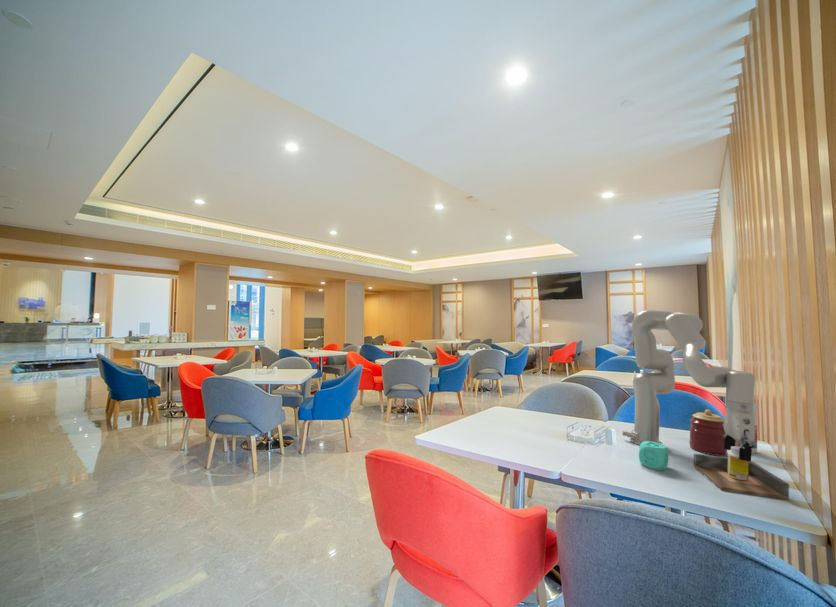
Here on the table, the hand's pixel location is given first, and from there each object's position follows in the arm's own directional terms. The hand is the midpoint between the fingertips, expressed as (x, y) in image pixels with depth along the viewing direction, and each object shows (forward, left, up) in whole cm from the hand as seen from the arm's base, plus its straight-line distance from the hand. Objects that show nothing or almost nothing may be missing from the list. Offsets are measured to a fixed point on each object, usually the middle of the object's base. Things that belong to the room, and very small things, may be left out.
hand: (736, 454), depth 130 cm
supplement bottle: (0, 0, -8) cm, 8 cm away
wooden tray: (-1, -2, -9) cm, 9 cm away
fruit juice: (+21, +40, -9) cm, 47 cm away
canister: (+5, +33, -9) cm, 35 cm away
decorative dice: (-25, +3, -9) cm, 27 cm away
